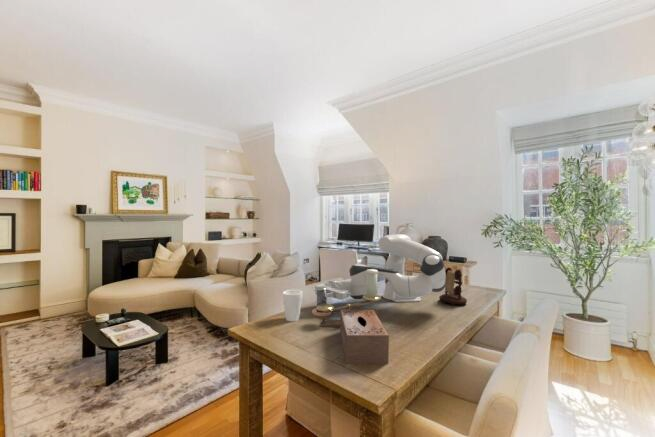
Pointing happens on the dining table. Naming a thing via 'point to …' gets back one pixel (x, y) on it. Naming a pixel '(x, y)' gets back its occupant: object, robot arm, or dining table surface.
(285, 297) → the foam cup
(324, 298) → the tin
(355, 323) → the tissue box cover
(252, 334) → the dining table surface
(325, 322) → the balance
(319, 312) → the dish
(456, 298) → the brown wooden figurine
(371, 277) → the light tin
